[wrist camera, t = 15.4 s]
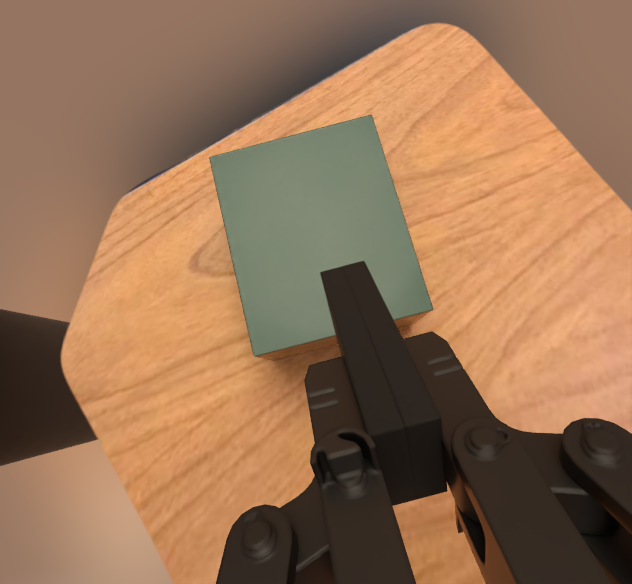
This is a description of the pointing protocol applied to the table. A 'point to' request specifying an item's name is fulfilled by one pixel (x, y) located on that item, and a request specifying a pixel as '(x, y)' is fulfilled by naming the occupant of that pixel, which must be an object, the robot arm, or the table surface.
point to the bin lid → (313, 229)
